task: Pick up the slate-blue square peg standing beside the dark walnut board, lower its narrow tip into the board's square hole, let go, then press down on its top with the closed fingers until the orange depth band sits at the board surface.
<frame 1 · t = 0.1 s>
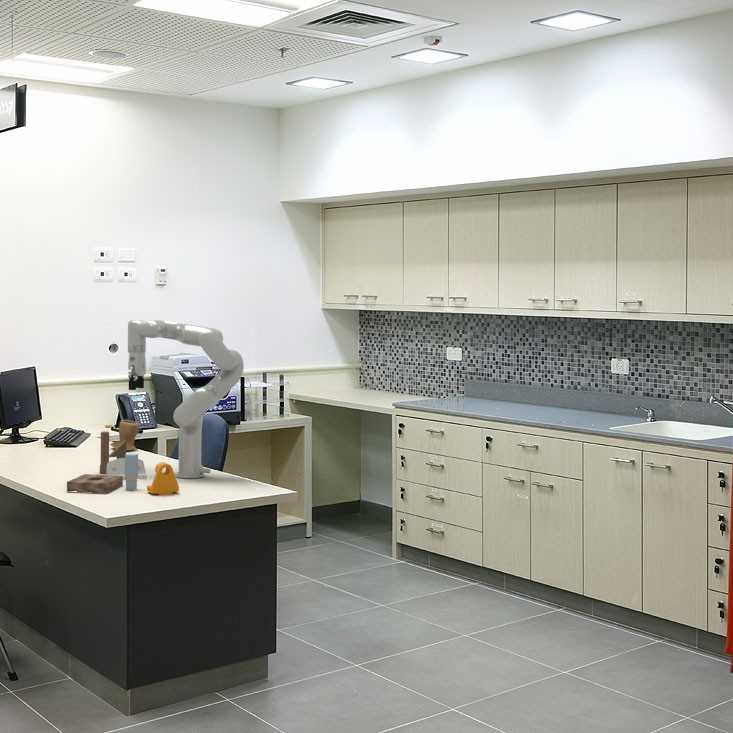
hand: (136, 389, 435), 37 cm above the countertop, tool pointing down, fingers open, 9 cm apart
peg: (131, 489, 403), on the countertop
hinge: (125, 479, 426), on the countertop
board: (95, 488, 402), on the countertop
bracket: (162, 493, 397), on the countertop
brown flared piece: (125, 450, 505), on the countertop
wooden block: (112, 473, 439), on the countertop
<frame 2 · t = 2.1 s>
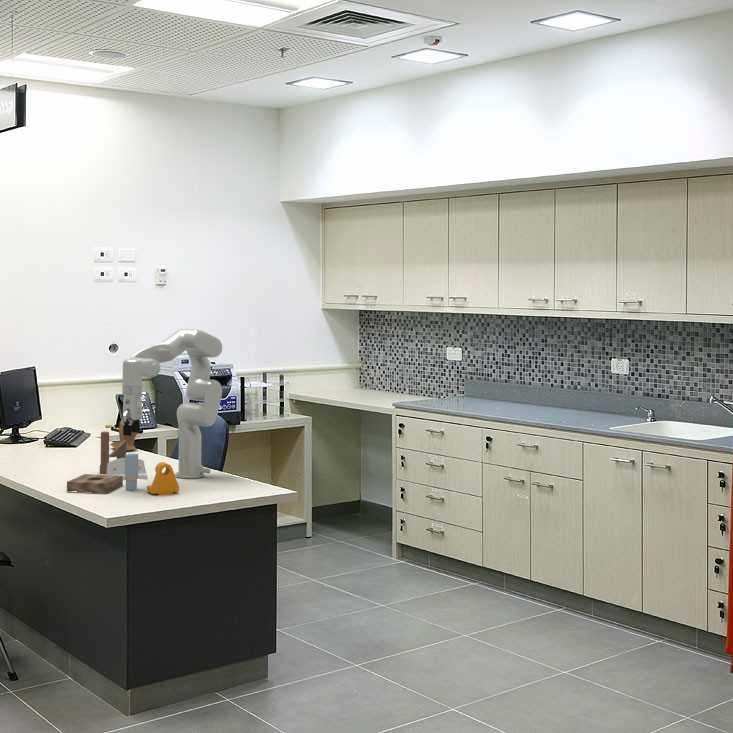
hand: (131, 433, 401), 22 cm above the countertop, tool pointing down, fingers open, 9 cm apart
nothing on the countertop moved.
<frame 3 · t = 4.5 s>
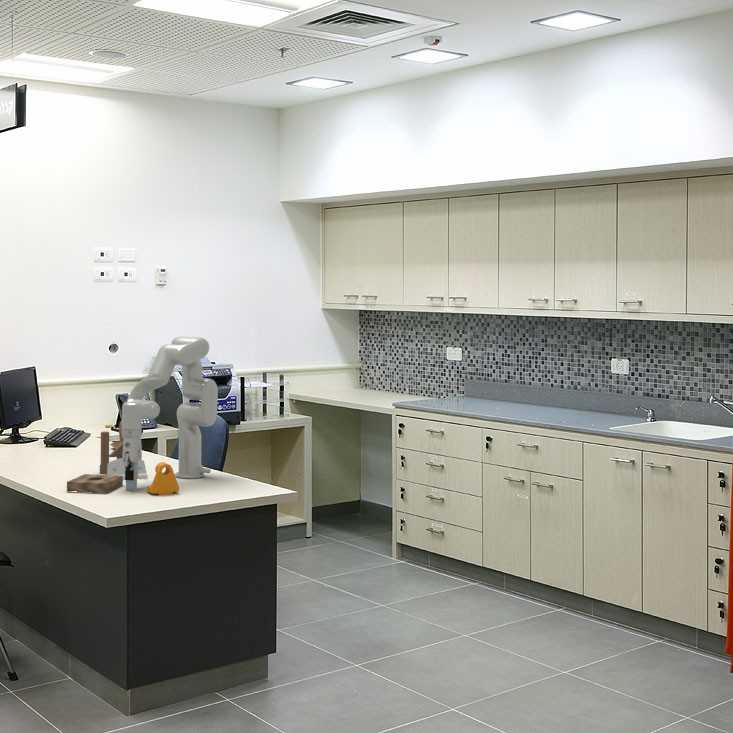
hand: (131, 478, 403), 4 cm above the countertop, tool pointing down, fingers closed on peg, 4 cm apart
peg: (131, 489, 403), on the countertop, touching gripper
everything else where it was.
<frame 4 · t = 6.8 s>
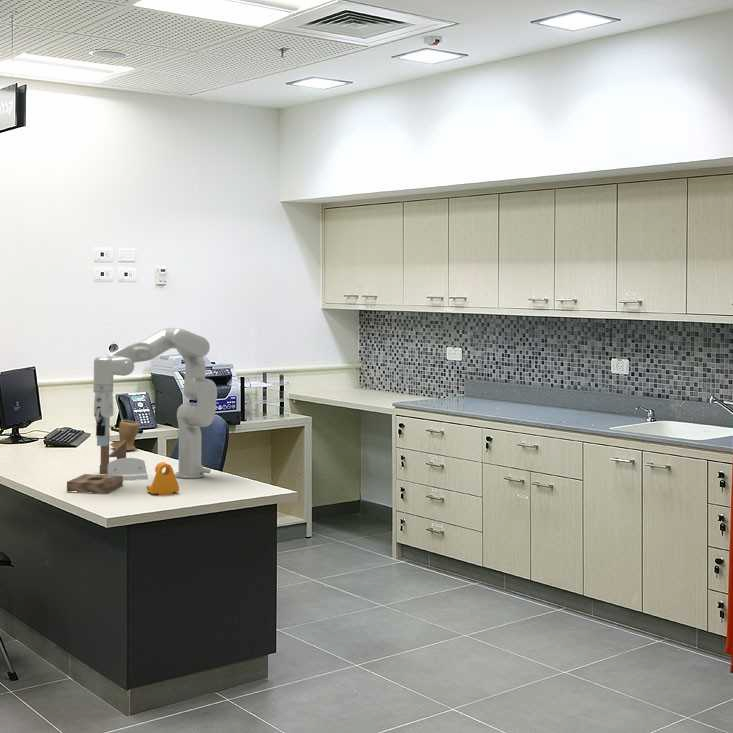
hand: (102, 434, 401), 22 cm above the countertop, tool pointing down, fingers closed on peg, 4 cm apart
peg: (102, 445, 401), point 17 cm above the countertop, touching gripper
everything else where it was.
when the fingers open (6 cm above the countertop, at t = 9.4 s): peg drops 1 cm, resting in board.
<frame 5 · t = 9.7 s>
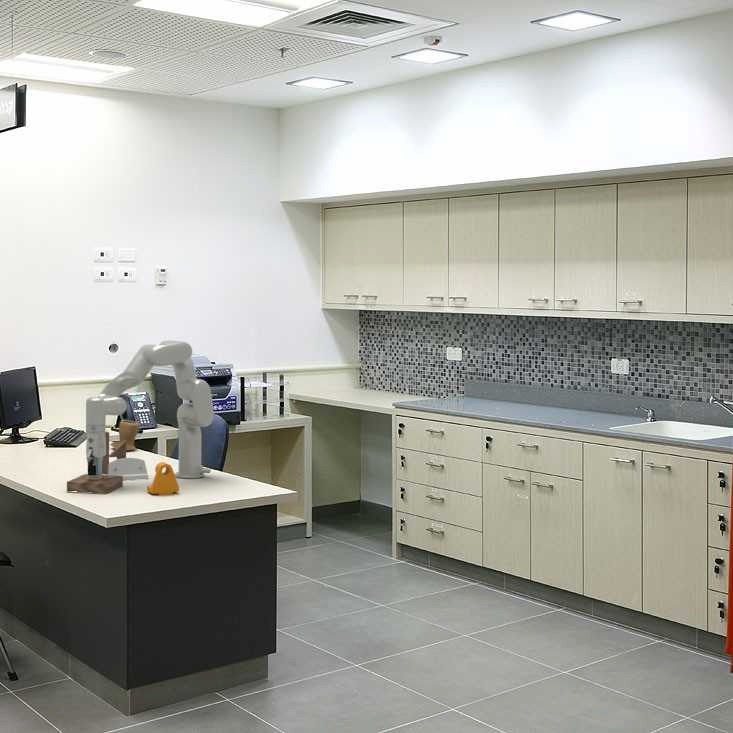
hand: (95, 473, 402), 6 cm above the countertop, tool pointing down, fingers open, 6 cm apart
peg: (95, 488, 402), resting in board
everything else where it was.
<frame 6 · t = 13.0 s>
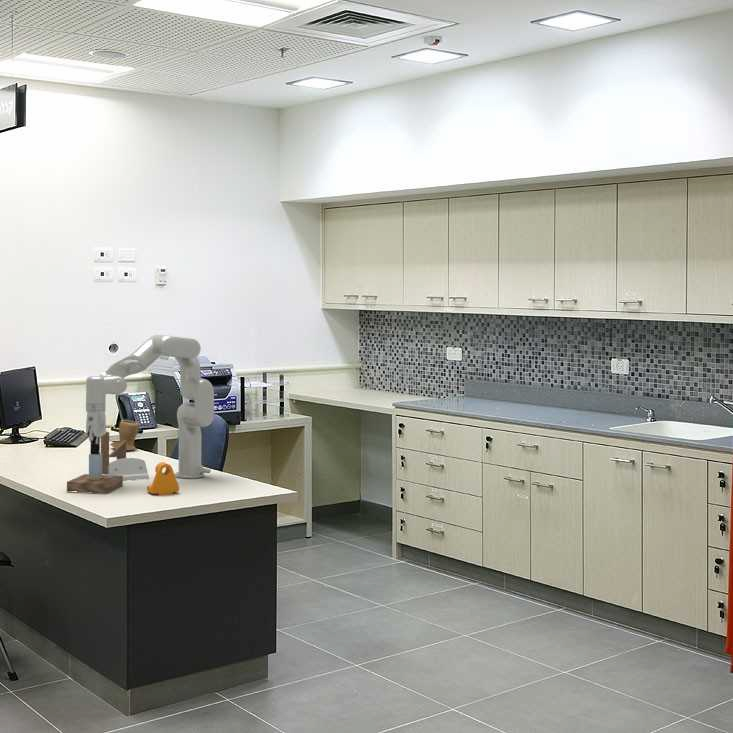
hand: (95, 453, 401), 14 cm above the countertop, tool pointing down, fingers closed
peg: (95, 488, 402), resting in board, touching gripper
everything else where it was.
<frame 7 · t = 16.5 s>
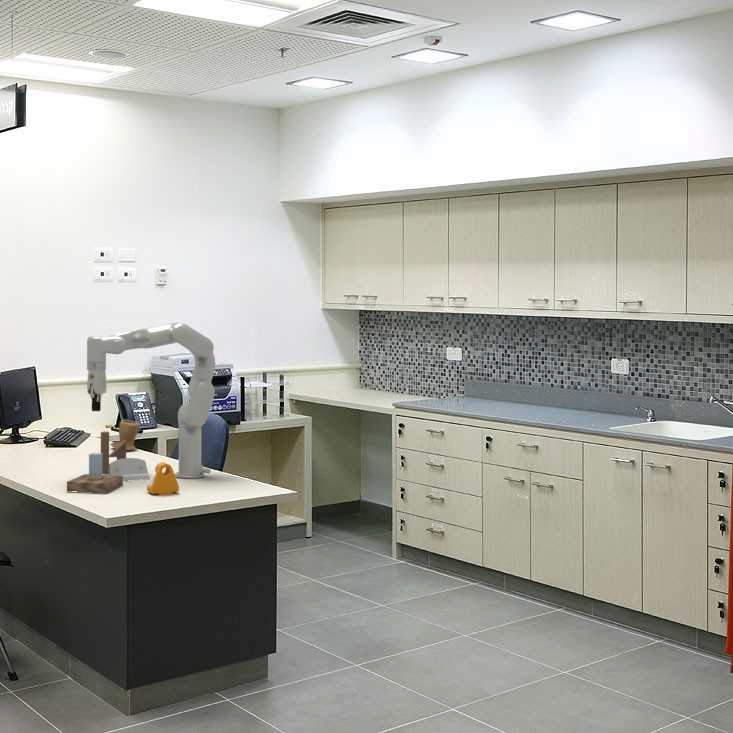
hand: (96, 410, 417), 29 cm above the countertop, tool pointing down, fingers closed
peg: (95, 488, 402), resting in board
at the end: peg 0.1 cm off-centre on the board, point 0.0 cm above the board's base; peg tilted 0°; the gripper is holding nothing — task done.
